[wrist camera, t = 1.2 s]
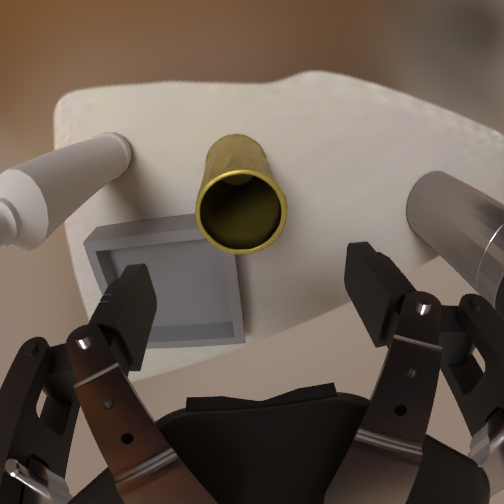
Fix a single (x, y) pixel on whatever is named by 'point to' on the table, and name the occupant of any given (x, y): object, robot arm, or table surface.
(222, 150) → the vase
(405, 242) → the table surface
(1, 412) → the robot arm
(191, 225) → the bin
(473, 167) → the table surface
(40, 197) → the bottle
